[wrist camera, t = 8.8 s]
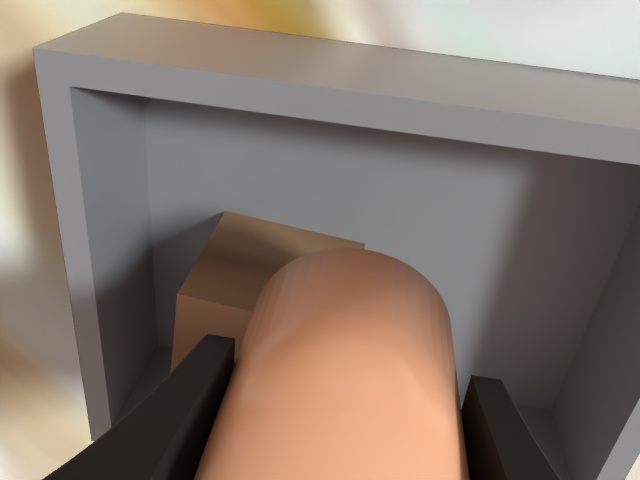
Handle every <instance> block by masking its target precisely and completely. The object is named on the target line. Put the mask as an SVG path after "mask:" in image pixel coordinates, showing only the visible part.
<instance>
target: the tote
mask: <svg viewBox="0 0 640 480" xmlns="http://www.w3.org/2000/svg"><path fill="white" fill-rule="evenodd" d="M32 49H33V56H34V62H35V69H36V76H37V82H38V89H39V96H40V102H41V109H42V115H43V122H44V129H45V135H46V142H47V148H48V155H49V162H50V168H51V175H52V182H53V188H54V195H55V201H56V208H57V215H58V221H59V228H60V234H61V241H62V248H63V254H64V261H65V268H66V274H67V281H68V287H69V294H70V301H71V307H72V314H73V320H74V327H75V334H76V340H77V347H78V354H79V360H80V367H81V373H82V380H83V387H84V393H85V400H86V406H87V413H88V420H89V426H90V433H91V440H92V441H96V440H97V439H98V438H100V437H101V436H102V435H103V434H104V433H106V432H107V431H108V430H109V429H110V428H112V427H113V426H114V425H115V424H116V423H117V422H118V421H120V420H121V419H122V418H123V417H124V416H125V415H126V414H128V413H129V412H130V411H131V410H132V409H133V408H134V407H136V406H137V405H138V404H139V403H140V402H141V401H142V400H143V399H144V398H145V397H146V396H147V395H148V394H149V393H150V392H151V391H152V390H153V389H154V388H156V387H157V386H158V385H159V384H160V383H161V382H162V381H163V380H164V379H165V378H166V377H167V376H168V375H169V374H170V373H171V362H172V350H173V339H174V327H175V315H176V303H177V293H178V292H179V290H180V288H181V286H182V285H183V283H184V281H185V280H186V278H187V276H188V274H189V273H190V271H191V269H192V268H193V266H194V264H195V262H196V261H197V259H198V257H199V255H200V254H201V252H202V250H203V249H204V247H205V245H206V243H207V242H208V240H209V238H210V236H211V235H212V233H213V231H214V230H215V228H216V226H217V224H218V223H219V221H220V219H221V217H222V216H223V214H224V212H225V211H228V212H233V213H237V214H241V215H245V216H250V217H254V218H258V219H262V220H267V221H271V222H275V223H279V224H284V225H288V226H292V227H296V228H301V229H305V230H309V231H313V232H318V233H322V234H326V235H330V236H335V237H339V238H343V239H347V240H352V241H356V242H360V243H364V244H365V250H371V251H375V252H379V253H383V254H386V255H388V256H391V257H394V258H396V259H398V260H400V261H402V262H404V263H406V264H408V265H409V266H411V267H413V268H414V269H416V270H417V271H418V272H420V273H421V274H422V275H423V276H424V277H425V278H427V279H428V280H429V281H430V283H431V284H432V285H433V286H434V287H435V288H436V289H437V291H438V292H439V294H440V296H441V297H442V299H443V301H444V303H445V305H446V307H447V310H448V313H449V317H450V321H451V330H452V338H453V346H454V355H455V363H456V371H457V379H458V388H459V396H460V404H461V408H462V405H463V401H464V398H465V395H466V391H467V388H468V385H469V382H470V378H471V375H475V376H481V377H488V378H494V379H501V381H502V382H503V383H504V385H505V387H506V389H507V390H508V392H509V394H510V396H511V398H512V400H513V401H514V403H515V405H516V407H517V409H518V411H519V412H520V414H521V416H522V418H523V419H524V421H525V423H526V425H527V426H528V428H529V430H530V431H531V433H532V435H533V437H534V438H535V440H536V442H537V443H538V445H539V447H540V448H541V450H542V451H543V453H544V454H545V456H546V458H547V459H548V461H549V462H550V464H551V466H552V467H553V469H554V470H555V472H556V473H557V475H558V476H559V478H560V479H561V480H625V478H626V476H627V475H628V473H629V471H630V469H631V468H632V466H633V464H634V462H635V461H636V459H637V457H638V455H639V454H640V80H637V79H629V78H621V77H614V76H606V75H598V74H591V73H583V72H575V71H568V70H560V69H552V68H545V67H537V66H529V65H522V64H514V63H506V62H498V61H491V60H483V59H475V58H468V57H460V56H452V55H445V54H437V53H429V52H422V51H414V50H406V49H399V48H391V47H383V46H375V45H368V44H360V43H352V42H345V41H337V40H329V39H322V38H314V37H306V36H299V35H291V34H283V33H276V32H268V31H260V30H252V29H245V28H237V27H229V26H222V25H214V24H206V23H199V22H191V21H183V20H176V19H168V18H160V17H153V16H145V15H137V14H129V13H122V12H121V13H119V14H116V15H114V16H111V17H109V18H106V19H104V20H101V21H99V22H96V23H94V24H91V25H88V26H86V27H83V28H81V29H78V30H76V31H73V32H71V33H68V34H66V35H63V36H61V37H58V38H56V39H53V40H51V41H48V42H46V43H43V44H41V45H38V46H36V47H33V48H32Z"/></svg>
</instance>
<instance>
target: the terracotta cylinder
mask: <svg viewBox="0 0 640 480" xmlns="http://www.w3.org/2000/svg"><path fill="white" fill-rule="evenodd" d="M194 480H470V479H469V470H468V462H467V454H466V446H465V437H464V429H463V421H462V412H461V404H460V396H459V388H458V379H457V371H456V363H455V355H454V346H453V338H452V330H451V321H450V317H449V313H448V310H447V307H446V305H445V303H444V301H443V299H442V297H441V296H440V294H439V292H438V291H437V289H436V288H435V287H434V286H433V285H432V284H431V283H430V281H429V280H428V279H427V278H425V277H424V276H423V275H422V274H421V273H420V272H418V271H417V270H416V269H414V268H413V267H411V266H409V265H408V264H406V263H404V262H402V261H400V260H398V259H396V258H394V257H391V256H388V255H386V254H383V253H379V252H375V251H371V250H365V249H357V248H335V249H326V250H321V251H317V252H313V253H310V254H307V255H304V256H302V257H299V258H297V259H295V260H294V261H292V262H290V263H288V264H287V265H285V266H284V267H282V268H281V269H280V270H278V271H277V272H276V273H275V274H274V275H273V276H272V277H271V278H270V279H269V281H268V282H267V283H266V284H265V286H264V287H263V289H262V291H261V293H260V295H259V297H258V300H257V302H256V305H255V308H254V311H253V314H252V317H251V319H250V322H249V325H248V328H247V331H246V333H245V336H244V339H243V342H242V345H241V347H240V350H239V353H238V356H237V359H236V362H235V364H234V367H233V370H232V373H231V376H230V378H229V381H228V384H227V387H226V390H225V392H224V395H223V398H222V401H221V404H220V407H219V409H218V412H217V415H216V418H215V421H214V423H213V426H212V429H211V432H210V435H209V438H208V440H207V443H206V446H205V449H204V452H203V454H202V457H201V460H200V463H199V466H198V468H197V471H196V474H195V477H194Z"/></svg>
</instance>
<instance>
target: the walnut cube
mask: <svg viewBox="0 0 640 480" xmlns="http://www.w3.org/2000/svg"><path fill="white" fill-rule="evenodd" d="M335 248H357V249H365V244H364V243H360V242H356V241H352V240H347V239H343V238H339V237H335V236H330V235H326V234H322V233H318V232H313V231H309V230H305V229H301V228H296V227H292V226H288V225H284V224H279V223H275V222H271V221H267V220H262V219H258V218H254V217H250V216H245V215H241V214H237V213H233V212H228V211H225V212H224V214H223V216H222V217H221V219H220V221H219V223H218V224H217V226H216V228H215V230H214V231H213V233H212V235H211V236H210V238H209V240H208V242H207V243H206V245H205V247H204V249H203V250H202V252H201V254H200V255H199V257H198V259H197V261H196V262H195V264H194V266H193V268H192V269H191V271H190V273H189V274H188V276H187V278H186V280H185V281H184V283H183V285H182V286H181V288H180V290H179V292H178V293H177V303H176V315H175V327H174V339H173V350H172V362H171V372H172V371H173V369H174V368H175V367H176V366H177V365H178V364H179V363H180V362H181V361H182V360H183V359H184V358H185V357H186V356H187V355H188V354H189V352H190V351H191V350H192V349H193V348H194V347H195V346H196V345H197V343H198V342H199V341H200V340H201V339H202V338H203V337H204V336H206V335H207V334H211V335H217V336H224V337H230V338H235V362H236V359H237V356H238V353H239V350H240V347H241V345H242V342H243V339H244V336H245V333H246V331H247V328H248V325H249V322H250V319H251V317H252V314H253V311H254V308H255V305H256V302H257V300H258V297H259V295H260V293H261V291H262V289H263V287H264V286H265V284H266V283H267V282H268V281H269V279H270V278H271V277H272V276H273V275H274V274H275V273H276V272H277V271H278V270H280V269H281V268H282V267H284V266H285V265H287V264H288V263H290V262H292V261H294V260H295V259H297V258H299V257H302V256H304V255H307V254H310V253H313V252H317V251H321V250H326V249H335Z"/></svg>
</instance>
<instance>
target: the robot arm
mask: <svg viewBox="0 0 640 480" xmlns="http://www.w3.org/2000/svg"><path fill="white" fill-rule="evenodd" d="M234 364H235V338H230V337H224V336H217V335H211V334H207V335H206V336H204V337H203V338H202V339H201V340H200V341H199V342H198V343H197V345H196V346H195V347H194V348H193V349H192V350H191V351H190V352H189V354H188V355H187V356H186V357H185V358H184V359H183V360H182V361H181V362H180V363H179V364H178V365H177V366H176V367H175V368H174V369H173V371H172V372H171V373H170V374H169V375H168V376H167V377H166V378H165V379H164V380H163V381H162V382H161V383H160V384H159V385H158V386H157V387H156V388H154V389H153V390H152V391H151V392H150V393H149V394H148V395H147V396H146V397H145V398H144V399H143V400H142V401H141V402H140V403H139V404H138V405H137V406H136V407H134V408H133V409H132V410H131V411H130V412H129V413H128V414H126V415H125V416H124V417H123V418H122V419H121V420H120V421H118V422H117V423H116V424H115V425H114V426H113V427H112V428H110V429H109V430H108V431H107V432H106V433H104V434H103V435H102V436H101V437H100V438H98V439H97V440H96V441H95V442H93V443H92V444H91V445H89V446H88V447H87V448H86V449H84V450H83V451H82V452H80V453H79V454H78V455H76V456H75V457H74V458H72V459H71V460H70V461H68V462H67V463H65V464H64V465H62V466H61V467H60V468H58V469H57V470H55V471H54V472H52V473H51V474H49V475H48V476H47V477H45V478H44V479H42V480H194V477H195V474H196V471H197V468H198V466H199V463H200V460H201V457H202V454H203V452H204V449H205V446H206V443H207V440H208V438H209V435H210V432H211V429H212V426H213V423H214V421H215V418H216V415H217V412H218V409H219V407H220V404H221V401H222V398H223V395H224V392H225V390H226V387H227V384H228V381H229V378H230V376H231V373H232V370H233V367H234ZM461 412H462V421H463V429H464V437H465V446H466V454H467V462H468V470H469V479H470V480H561V479H560V478H559V476H558V475H557V473H556V472H555V470H554V469H553V467H552V466H551V464H550V462H549V461H548V459H547V458H546V456H545V454H544V453H543V451H542V450H541V448H540V447H539V445H538V443H537V442H536V440H535V438H534V437H533V435H532V433H531V431H530V430H529V428H528V426H527V425H526V423H525V421H524V419H523V418H522V416H521V414H520V412H519V411H518V409H517V407H516V405H515V403H514V401H513V400H512V398H511V396H510V394H509V392H508V390H507V389H506V387H505V385H504V383H503V382H502V381H501V379H494V378H488V377H481V376H475V375H471V378H470V382H469V385H468V388H467V391H466V395H465V398H464V401H463V405H462V408H461Z"/></svg>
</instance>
